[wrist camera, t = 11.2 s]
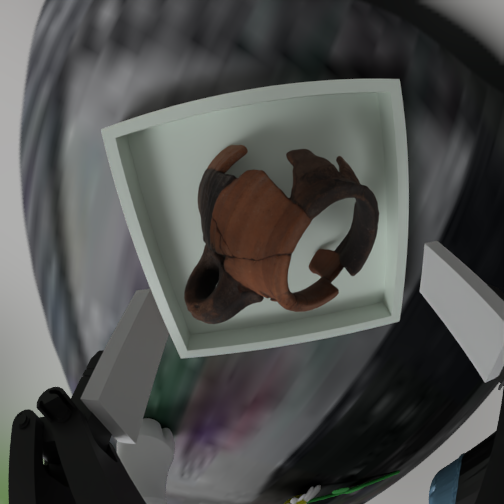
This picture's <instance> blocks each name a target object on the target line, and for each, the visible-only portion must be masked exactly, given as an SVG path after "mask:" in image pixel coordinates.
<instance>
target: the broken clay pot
mask: <svg viewBox="0 0 504 504" xmlns="http://www.w3.org/2000/svg"><path fill="white" fill-rule="evenodd" d="M247 152H248V150H247V148H246V147H245V146H243V145H230V146H228V147H227V148H225V149H224V150H222V151H221V152H220V153H219V154H218V155H217V156H216V157H215V158H214V159H213V160H212V162H211V163H210V164H209V166H208V168H207V169H206V170H205V172H204V174H203V176H202V179H201V182H200V184H199V190H198V209H199V213H200V216H201V227H202V233H203V241H204V242H205V247H204V251H203V254H202V256H201V258H200V260H199V262H198V264H197V265H196V266H195V268H194V269H193V271H192V273H191V275H190V276H189V279H188V281H187V284H186V287H185V291H184V300H185V303H186V306H187V309H188V311H189V312H191V314H192V316H193V317H194V318H195V319H197V320H200V321H202V322H204V323H207V324H219V323H222V322H225V321H227V320H229V319H231V318H232V317H234V316H235V315H236V314H237V313H239V312H240V311H241V310H243V309H244V308H245V307H247V306H249V305H251V304H254V303H258V302H261V301H263V299H264V297H265V298H270V300H271V301H274V302H278V303H279V304H280V305H281V306H282V307H283V308H285V309H286V310H290V311H294V312H305V311H310V310H313V309H315V308H318V307H320V306H322V305H324V304H326V303H327V302H329V301H331V300H332V299H333V298H335V297H336V296H337V295H338V294H339V290H338V288H337V287H335V286H334V285H333V284H332V283H331V282H332V281H333V280H334V279H335V278H336V277H337V276H338V275H339V274H340V272H341V271H342V270H343V268H345V269H346V270H347V272H348V273H349V274H350V275H351V276H355V275H356V274H357V273H358V272H359V271H360V270H361V269H362V267H363V265H364V264H365V262H366V260H367V259H368V256H369V254H370V253H371V250H372V248H373V245H374V242H375V239H376V236H377V230H378V222H379V210H378V202H377V200H376V197H375V195H374V193H373V192H372V191H371V190H370V189H369V188H368V187H367V186H365V185H361V184H360V182H359V180H358V178H357V177H356V175H355V173H354V171H353V170H352V168H351V167H350V165H349V164H348V163H347V162H346V161H345V160H344V159H343V158H342V157H341V156H338V157H337V158H336V162H337V163H338V165H339V171H338V170H337V168H336V167H335V166H334V165H333V164H332V163H331V162H330V161H329V160H327V159H325V158H323V157H319V156H316V155H315V154H314V153H312V152H311V151H310V150H308V149H298V150H291V151H289V152H287V154H286V157H287V159H288V161H289V162H290V163H291V165H292V166H293V171H292V172H293V187H292V189H291V196H290V198H288V197H287V196H286V195H285V194H284V192H283V191H282V190H281V189H280V188H278V187H277V186H276V184H275V183H274V182H273V181H272V180H271V179H270V178H269V177H268V175H267V174H266V173H265V172H264V171H263V170H255V169H253V170H247V171H245V172H244V173H243V174H242V175H240V176H239V177H238V178H236V177H235V176H234V175H229V174H225V173H226V172H227V171H228V170H229V169H230V167H231V166H232V165H234V164H235V163H236V162H237V161H238V160H239V159H241V158H242V157H243V156H245V155H246V154H247ZM345 198H355V199H356V202H355V205H354V214H353V221H352V224H351V228H350V230H349V232H348V234H347V235H346V236H345V238H344V239H343V240H342V242H341V243H340V245H339V246H338V247H337V248H336V250H335V251H332V250H329V249H319V250H317V252H316V253H315V255H314V256H313V258H312V260H311V262H310V264H309V269H310V271H311V272H312V273H314V274H318V275H319V276H320V277H321V278H320V279H319V280H318V281H317V282H315V283H314V284H312V285H311V286H309V287H307V288H306V289H303V290H301V291H298V292H294V293H292V292H290V290H289V287H288V269H289V265H290V261H291V256H292V253H293V252H294V250H295V248H296V246H297V243H298V242H299V240H300V238H301V237H302V235H303V233H304V232H305V230H306V229H307V227H308V226H309V225H310V224H311V221H312V220H313V218H315V217H316V216H318V215H319V214H320V213H321V212H322V211H323V210H325V209H326V208H327V207H328V206H330V205H331V204H333V203H335V202H337V201H339V200H342V199H345ZM217 283H218V284H217ZM216 285H217V286H216Z"/></svg>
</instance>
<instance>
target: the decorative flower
mask: <svg viewBox="0 0 504 504" xmlns="http://www.w3.org/2000/svg"><path fill="white" fill-rule="evenodd" d="M398 473H400V471H399V470H398V471H395V472H393V473H390V474H388V475H385V476H383V477H380V478H378V479H375V480H372V481H370V482H367V483H364V484H361V485H358V486H355V487H352V488H347V487H346V488H340V489H337V490H335V491H333V492H332V494H329V495H325V496H321V497H317V498H313V497H314V496H315V495H316V494H317V493H318V492H319V491H320V489H321V488H320V487H321V485H320V486H319V485H317V486H316V487H315V488H314V487H313V486H312V487H311V488H310V489H309V490H308V491H307V493H305V494H299V495H296V496H294V497H292V498H290V499H289V500H287V501H286V502H285V503H284V504H307V503H310V502H314V501H318V500H322V499H326V498H330V497H333V496H337V495H340V494H343V493H345V494H348V493H352V492H354V491H357V490H359V489H361V488H363V487H365V486H367V485H370V484H373V483H375V482H378V481H381V480H383V479H386V478H388V477H391V476H393V475H395V474H398ZM313 488H314V489H313ZM312 498H313V499H312Z"/></svg>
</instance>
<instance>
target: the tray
mask: <svg viewBox="0 0 504 504" xmlns="http://www.w3.org/2000/svg"><path fill="white" fill-rule="evenodd" d="M101 132H102V137H103V141H104V145H105V149H106V153H107V157H108V161H109V165H110V168H111V172H112V176H113V179H114V183H115V186H116V190H117V193H118V196H119V200H120V203H121V206H122V209H123V213H124V216H125V219H126V222H127V225H128V228H129V231H130V234H131V237H132V240H133V243H134V246H135V248H136V251H137V254H138V257H139V259H140V262H141V265H142V268H143V270H144V273H145V276H146V278H147V281H148V283H149V286H150V288H151V291H152V293H153V296H154V298H155V301H156V303H157V306H158V308H159V310H160V313H161V315H162V317H163V320H164V322H165V324H166V327H167V329H168V331H169V333H170V336H171V338H172V340H173V342H174V344H175V347H176V349H177V351H178V353H179V355H180V357H181V358H192V357H203V356H212V355H222V354H230V353H238V352H246V351H253V350H260V349H267V348H274V347H280V346H286V345H292V344H298V343H303V342H309V341H314V340H320V339H325V338H330V337H335V336H339V335H344V334H349V333H353V332H358V331H362V330H366V329H371V328H375V327H379V326H383V325H387V324H391V323H395V322H398V321H400V314H401V307H402V299H403V291H404V281H405V271H406V259H407V244H408V220H409V176H408V152H407V138H406V126H405V116H404V107H403V99H402V92H401V85H400V79H340V80H323V81H311V82H300V83H291V84H282V85H275V86H267V87H261V88H254V89H248V90H243V91H237V92H232V93H226V94H222V95H217V96H212V97H208V98H203V99H199V100H195V101H191V102H187V103H183V104H179V105H175V106H171V107H168V108H164V109H161V110H157V111H154V112H151V113H147V114H144V115H141V116H138V117H135V118H132V119H129V120H126V121H123V122H120V123H117V124H114V125H112V126H109V127H106V128H103V129H101ZM230 145H243V146H245V147H246V148H247V150H248V152H247V154H246V155H245V156H243V157H242V158H241V159H239V160H238V161H237V162H236V163H235V164H234V165H232V166H231V167H230V169H229V170H228V171H227V172H226V173H225V174H229V175H234V176H235V177H236V178H238V177H239V176H240V175H242V174H243V173H244V172H245V171H247V170H253V169H255V170H263V171H264V172H265V173H266V174H267V175H268V177H269V178H270V179H271V180H272V181H273V182H274V183H275V184H276V186H277V187H278V188H280V189H281V190H282V191H283V192H284V194H285V195H286V196H287V197H288V198H290V196H291V189H292V187H293V172H292V171H293V166H292V165H291V163H290V162H289V161H288V159H287V157H286V154H287V152H289V151H291V150H298V149H308V150H310V151H311V152H312V153H314V154H315V155H316V156H319V157H323V158H325V159H327V160H329V161H330V162H331V163H332V164H333V165H334V166H335V167H336V168H337V170H338V171H339V165H338V163H337V162H336V158H337V157H338V156H341V157H342V158H343V159H344V160H345V161H346V162H347V163H348V164H349V165H350V167H351V168H352V170H353V171H354V173H355V175H356V177H357V178H358V180H359V182H360V184H361V185H365V186H367V187H368V188H369V189H370V190H371V191H372V192H373V193H374V195H375V197H376V200H377V202H378V210H379V222H378V230H377V236H376V239H375V242H374V245H373V248H372V250H371V253H370V254H369V256H368V259H367V260H366V262H365V264H364V265H363V267H362V269H361V270H360V271H359V272H358V273H357V274H356V275H355V276H351V275H350V274H349V273H348V272H347V270H346V269H345V268H343V270H342V271H341V272H340V274H339V275H338V276H337V277H336V278H335V279H334V280H333V281H332V282H331V283H332V284H333V285H334V286H335V287H337V288H338V290H339V294H338V295H337V296H336V297H335V298H333V299H332V300H331V301H329V302H327V303H326V304H324V305H322V306H320V307H318V308H315V309H313V310H310V311H305V312H294V311H290V310H286V309H285V308H283V307H282V306H281V305H280V304H279V303H278V302H274V301H271V300H270V298H265V297H264V299H263V301H261V302H258V303H254V304H251V305H249V306H247V307H245V308H244V309H243V310H241V311H240V312H239V313H237V314H236V315H235V316H234V317H232V318H231V319H229V320H227V321H225V322H222V323H219V324H207V323H204V322H202V321H200V320H197V319H195V318H194V317H193V316H192V314H191V312H189V311H188V309H187V306H186V303H185V300H184V291H185V287H186V284H187V281H188V279H189V276H190V275H191V273H192V271H193V269H194V268H195V266H196V265H197V264H198V262H199V260H200V258H201V256H202V254H203V251H204V247H205V242H204V241H203V233H202V227H201V216H200V213H199V209H198V190H199V184H200V182H201V179H202V176H203V174H204V172H205V170H206V169H207V168H208V166H209V164H210V163H211V162H212V160H213V159H214V158H215V157H216V156H217V155H218V154H219V153H220V152H221V151H222V150H224V149H225V148H227V147H228V146H230ZM355 202H356V199H355V198H345V199H342V200H339V201H337V202H335V203H333V204H331V205H330V206H328V207H327V208H326V209H325V210H323V211H322V212H321V213H320V214H319V215H318V216H316V217H315V218H313V220H312V221H311V224H310V225H309V226H308V227H307V229H306V230H305V232H304V233H303V235H302V237H301V238H300V240H299V242H298V243H297V246H296V248H295V250H294V252H293V253H292V256H291V261H290V265H289V269H288V287H289V290H290V292H292V293H294V292H298V291H301V290H303V289H306V288H307V287H309V286H311V285H312V284H314V283H315V282H317V281H318V280H319V279H320V278H321V277H320V276H319V275H318V274H314V273H312V272H311V271H310V269H309V264H310V262H311V260H312V258H313V256H314V255H315V253H316V252H317V250H319V249H329V250H332V251H335V250H336V248H337V247H338V246H339V245H340V243H341V242H342V240H343V239H344V238H345V236H346V235H347V234H348V232H349V230H350V228H351V224H352V221H353V214H354V205H355ZM217 284H218V283H217ZM216 286H217V285H216Z"/></svg>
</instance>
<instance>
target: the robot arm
mask: <svg viewBox="0 0 504 504" xmlns="http://www.w3.org/2000/svg"><path fill="white" fill-rule="evenodd" d="M420 293H421V294H422V295H423V296H424V298H425V299H426V300H427V302H428V303H429V304H430V305H431V307H432V308H433V309H434V311H435V312H436V313H437V314H438V316H439V317H440V318H441V320H442V321H443V322H444V324H445V325H446V326H447V328H448V329H449V331H450V332H451V333H452V335H453V336H454V337H455V339H456V340H457V342H458V343H459V344H460V346H461V347H462V349H463V350H464V352H465V353H466V355H467V356H468V357H469V359H470V360H471V362H472V363H473V365H474V366H475V368H476V369H477V371H478V373H479V374H480V376H481V377H482V379H483V380H484V382H485V383H486V382H488V381H490V380H492V379H494V378H495V379H496V380H498V381H499V382H500V383H501V384H500V385H499V388H498V390H500V389H501V388H502V386H504V294H503V293H502V292H501V291H500V290H499V289H498V288H496V287H494V286H492V285H490V284H488V285H487V284H486V283H484V282H483V281H482V280H481V279H480V278H479V277H478V276H477V275H476V274H475V273H474V272H473V271H471V270H470V269H469V268H468V267H467V266H466V265H465V264H464V263H462V262H461V261H460V260H459V259H458V258H457V257H456V256H454V255H453V254H452V253H451V252H450V251H449V250H447V249H446V248H445V247H444V246H443V245H441V244H440V243H439V242H438V241H435V242H429V243H425V246H424V258H423V268H422V277H421V285H420ZM168 335H169V333H168V330H167V328H166V326H165V323H164V321H163V319H162V316H161V314H160V311H159V309H158V306H157V304H156V302H155V299H154V296H153V294H152V291H151V289H146V290H138V291H136V292H135V294H134V296H133V298H132V299H131V301H130V303H129V305H128V307H127V308H126V310H125V312H124V314H123V316H122V317H121V319H120V321H119V323H118V325H117V327H116V328H115V330H114V332H113V334H112V336H111V338H110V340H109V342H108V344H107V345H106V347H105V349H104V351H98V352H97V353H96V354H95V355H94V356H93V357H92V358H91V360H90V362H89V364H88V366H87V370H85V372H84V373H83V377H81V379H80V381H79V383H78V385H77V387H76V389H75V391H74V393H73V396H72V398H71V399H70V397H69V396H68V395H67V394H66V392H65V391H64V390H63V389H62V388H60V387H53V388H50V389H48V390H46V391H45V392H43V394H42V395H41V396H40V397H39V399H38V401H37V409H38V410H39V411H40V412H41V413H42V414H43V415H44V416H45V417H40V418H39V417H38V416H37V415H36V414H35V413H34V412H33V411H31V410H24V411H22V412H20V413H19V414H18V415H17V416H16V417H15V419H14V421H13V425H12V433H11V444H10V458H9V504H146V502H145V501H144V499H143V498H142V496H141V494H140V493H139V491H138V490H137V488H136V486H135V485H134V483H133V481H132V480H131V478H130V476H129V475H128V473H127V471H126V469H125V467H124V466H123V464H122V462H121V460H120V458H119V456H118V454H117V453H116V451H115V449H114V447H113V445H112V444H111V443H110V442H109V441H110V438H111V435H112V436H113V437H114V438H115V439H116V440H117V441H118V442H120V443H129V444H136V443H137V439H138V435H139V431H140V428H141V424H142V420H143V417H144V413H145V410H146V406H147V403H148V399H149V396H150V393H151V389H152V386H153V383H154V379H155V376H156V373H157V369H158V366H159V363H160V360H161V357H162V353H163V350H164V347H165V344H166V341H167V338H168ZM43 459H44V460H45V461H44V462H45V463H44V465H43ZM429 504H504V389H503V397H502V404H501V410H500V415H499V421H498V426H497V431H495V432H494V433H493V434H492V435H490V436H489V437H488V438H486V439H485V440H484V441H482V442H481V443H480V444H478V445H477V446H475V447H474V448H472V449H471V450H469V451H468V452H466V453H463V454H461V456H460V457H459V458H458V459H456V460H455V461H453V462H452V463H450V464H449V465H447V466H446V467H444V468H443V469H441V470H440V471H439V472H438V473H437V474H436V475H435V477H434V479H433V480H432V483H431V486H430V491H429Z"/></svg>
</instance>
